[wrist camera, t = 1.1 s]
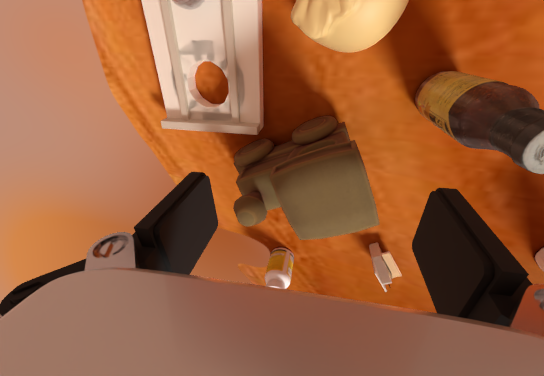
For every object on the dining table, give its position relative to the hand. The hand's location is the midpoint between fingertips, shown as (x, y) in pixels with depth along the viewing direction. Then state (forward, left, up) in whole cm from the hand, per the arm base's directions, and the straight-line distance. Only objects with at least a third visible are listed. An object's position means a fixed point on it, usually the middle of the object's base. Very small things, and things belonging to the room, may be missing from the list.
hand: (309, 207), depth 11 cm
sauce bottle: (0, +16, -30) cm, 34 cm away
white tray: (-6, -17, -30) cm, 35 cm away
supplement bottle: (+36, -5, -30) cm, 47 cm away
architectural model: (+31, +15, -31) cm, 46 cm away
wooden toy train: (+11, -3, -31) cm, 33 cm away
